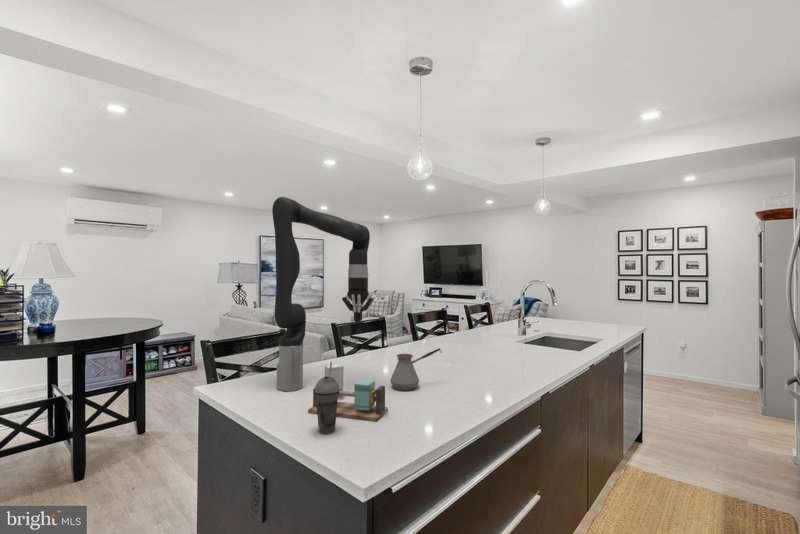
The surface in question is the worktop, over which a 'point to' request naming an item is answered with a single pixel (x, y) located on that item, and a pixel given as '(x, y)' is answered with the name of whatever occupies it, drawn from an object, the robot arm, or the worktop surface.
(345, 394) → the rail stand
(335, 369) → the skincare box
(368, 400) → the sleeve
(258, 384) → the worktop surface
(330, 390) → the beverage cup
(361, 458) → the worktop surface
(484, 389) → the worktop surface
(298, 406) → the worktop surface
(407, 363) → the coffee pot
